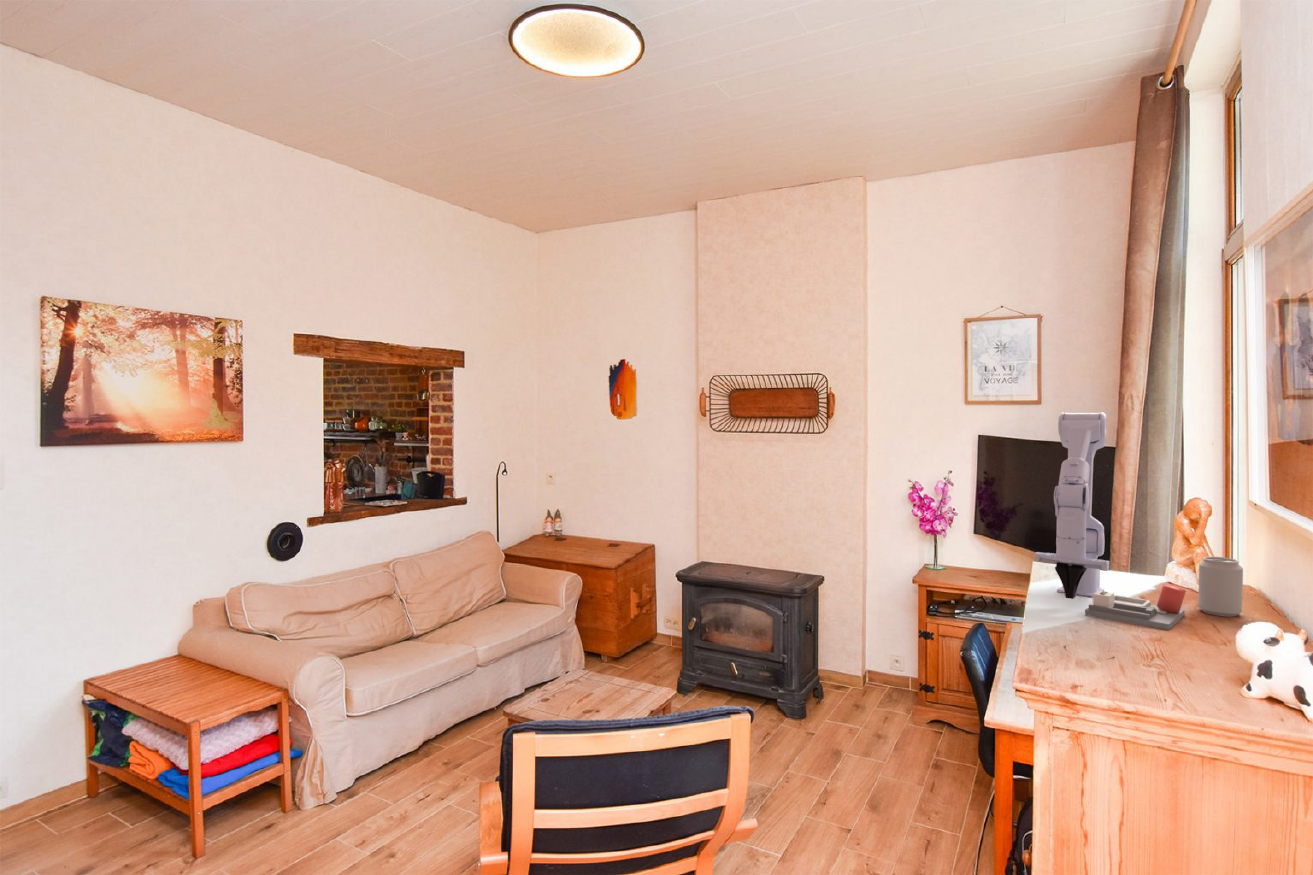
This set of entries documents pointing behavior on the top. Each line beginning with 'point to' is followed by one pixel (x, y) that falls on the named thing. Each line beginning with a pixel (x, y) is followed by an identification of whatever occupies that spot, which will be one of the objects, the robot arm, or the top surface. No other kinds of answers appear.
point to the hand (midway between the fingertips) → (1070, 597)
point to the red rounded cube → (1171, 598)
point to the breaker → (1103, 599)
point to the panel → (1136, 613)
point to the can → (1220, 586)
